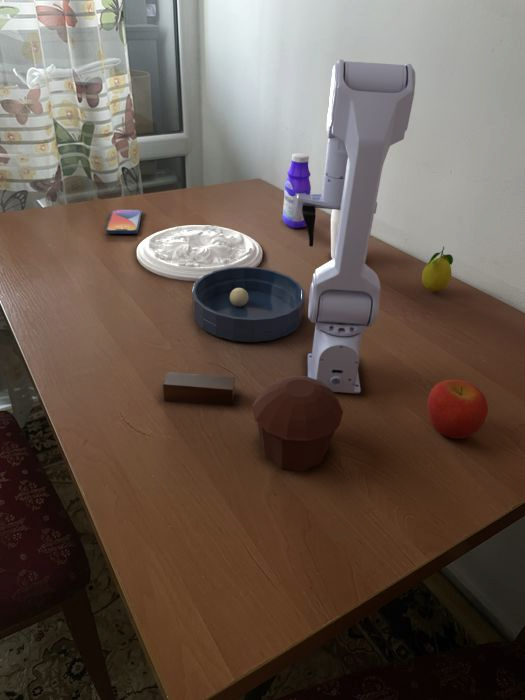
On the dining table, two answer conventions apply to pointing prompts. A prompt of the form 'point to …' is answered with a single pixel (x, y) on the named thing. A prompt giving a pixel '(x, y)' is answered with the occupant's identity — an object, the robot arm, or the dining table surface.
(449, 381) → the apple
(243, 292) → the dough ball
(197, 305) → the bowl
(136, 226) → the smartphone
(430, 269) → the pear
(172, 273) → the ceiling medallion
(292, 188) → the bottle
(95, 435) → the dining table surface
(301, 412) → the muffin
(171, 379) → the block
